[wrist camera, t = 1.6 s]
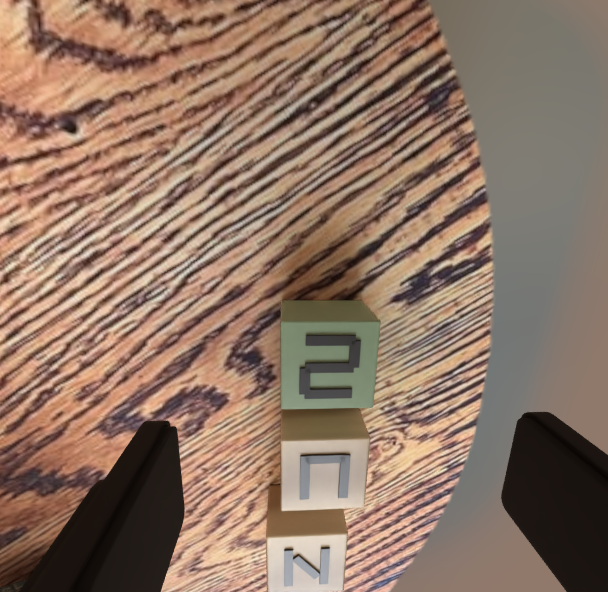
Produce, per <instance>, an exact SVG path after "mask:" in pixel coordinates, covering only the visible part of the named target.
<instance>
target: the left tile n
mask: <svg viewBox="0 0 608 592" xmlns="http://www.w3.org/2000/svg"><path fill="white" fill-rule="evenodd" d="M347 538H348V531H347V526H346V521H345V516H344V511H343V509H325V510H300V511H281V485H270V486H269V493H268V511H267V529H266V563H267V592H338V591H343V590H344V579H345V565H346V551H347Z"/></svg>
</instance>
